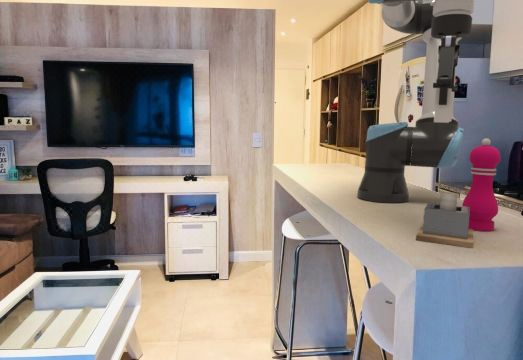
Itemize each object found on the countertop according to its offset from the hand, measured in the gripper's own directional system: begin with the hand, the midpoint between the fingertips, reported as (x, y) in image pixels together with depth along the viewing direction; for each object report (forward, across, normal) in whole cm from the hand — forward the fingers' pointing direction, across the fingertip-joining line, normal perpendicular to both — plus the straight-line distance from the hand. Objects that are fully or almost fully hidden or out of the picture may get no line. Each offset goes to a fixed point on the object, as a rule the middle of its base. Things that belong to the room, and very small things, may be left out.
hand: (443, 122), depth 89 cm
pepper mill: (+24, -6, +9) cm, 26 cm away
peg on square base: (+23, +7, +3) cm, 24 cm away
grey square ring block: (+22, +7, +2) cm, 23 cm away
